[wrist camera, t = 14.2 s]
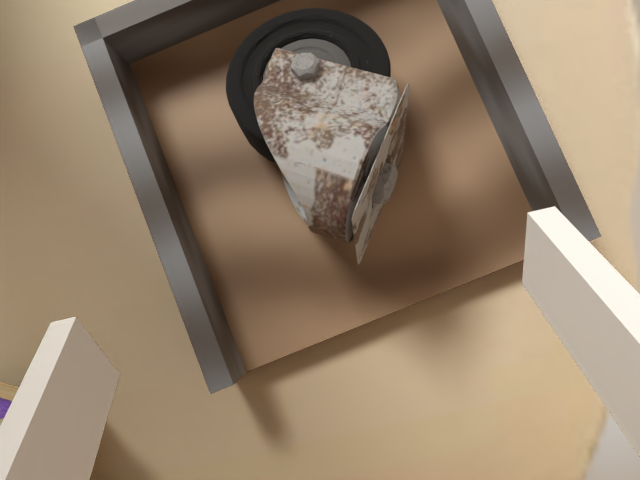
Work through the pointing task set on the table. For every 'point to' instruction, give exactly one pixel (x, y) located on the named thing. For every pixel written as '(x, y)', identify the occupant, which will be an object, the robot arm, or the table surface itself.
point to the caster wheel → (323, 116)
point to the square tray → (269, 189)
